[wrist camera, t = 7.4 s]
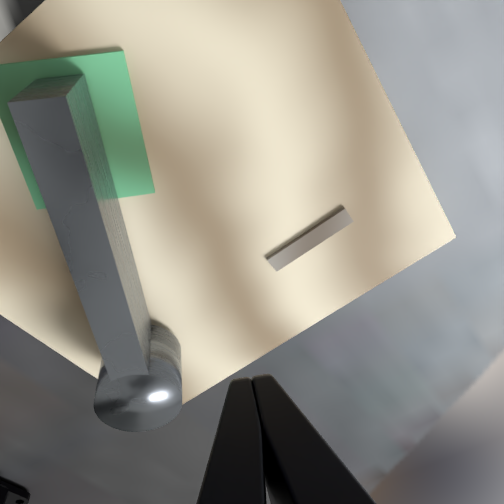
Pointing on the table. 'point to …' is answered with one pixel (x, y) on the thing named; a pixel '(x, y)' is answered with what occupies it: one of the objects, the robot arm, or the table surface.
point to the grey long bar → (98, 253)
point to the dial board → (217, 173)
